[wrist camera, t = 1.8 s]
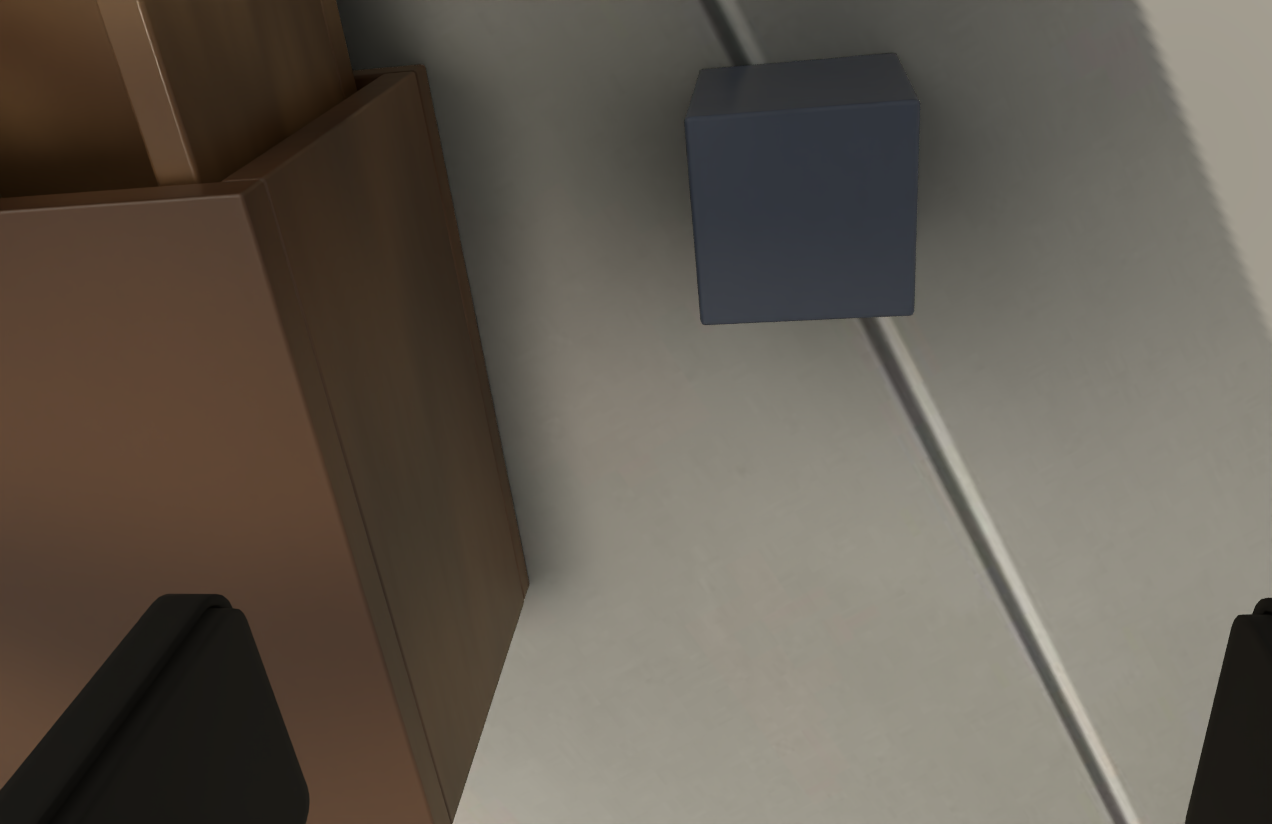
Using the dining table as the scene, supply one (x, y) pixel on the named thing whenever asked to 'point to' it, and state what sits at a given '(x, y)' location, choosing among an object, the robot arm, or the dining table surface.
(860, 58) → the block
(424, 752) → the cabinet
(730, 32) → the dining table surface
